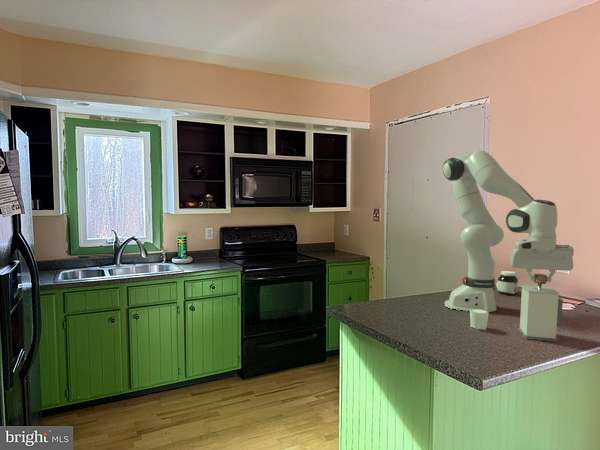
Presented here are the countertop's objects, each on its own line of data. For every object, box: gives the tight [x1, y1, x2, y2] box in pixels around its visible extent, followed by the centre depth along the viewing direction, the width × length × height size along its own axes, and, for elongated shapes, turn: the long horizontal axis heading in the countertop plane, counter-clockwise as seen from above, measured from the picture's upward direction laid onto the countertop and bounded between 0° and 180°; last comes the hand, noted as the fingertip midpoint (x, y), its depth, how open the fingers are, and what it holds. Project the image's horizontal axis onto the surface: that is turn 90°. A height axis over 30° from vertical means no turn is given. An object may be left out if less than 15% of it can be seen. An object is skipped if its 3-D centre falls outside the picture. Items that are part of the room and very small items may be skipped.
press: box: [518, 284, 564, 343], centre depth 154 cm, size 13×10×18 cm
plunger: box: [533, 273, 548, 290], centre depth 154 cm, size 7×7×20 cm
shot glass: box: [469, 309, 490, 330], centre depth 163 cm, size 7×7×7 cm
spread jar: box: [495, 270, 519, 296], centre depth 221 cm, size 12×11×12 cm
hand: (540, 281), depth 154 cm, fingers closed on plunger, 4 cm apart
